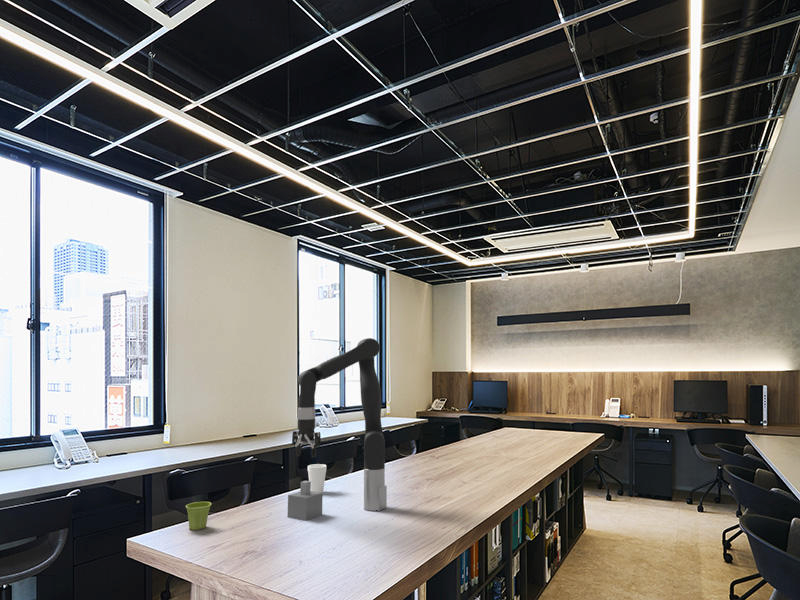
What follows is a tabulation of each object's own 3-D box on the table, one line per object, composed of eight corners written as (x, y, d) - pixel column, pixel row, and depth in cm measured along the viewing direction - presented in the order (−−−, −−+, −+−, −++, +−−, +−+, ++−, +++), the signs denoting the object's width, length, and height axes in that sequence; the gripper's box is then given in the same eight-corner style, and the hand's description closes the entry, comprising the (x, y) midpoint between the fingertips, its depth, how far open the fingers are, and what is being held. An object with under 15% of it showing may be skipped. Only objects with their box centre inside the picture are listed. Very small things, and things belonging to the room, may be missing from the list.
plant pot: (206, 531, 193) (207, 507, 195) (181, 532, 193) (182, 508, 194) (213, 524, 203) (214, 501, 204) (189, 524, 202) (190, 502, 203)
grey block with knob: (322, 514, 215) (322, 480, 217) (305, 520, 206) (306, 485, 208) (304, 511, 220) (304, 478, 222) (287, 516, 212) (288, 482, 214)
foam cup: (322, 495, 248) (322, 467, 250) (304, 494, 250) (304, 467, 252) (328, 490, 258) (328, 464, 260) (311, 490, 259) (311, 463, 261)
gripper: (324, 417, 218) (324, 456, 216) (300, 416, 226) (299, 454, 224) (313, 419, 212) (312, 459, 210) (288, 418, 219) (287, 456, 217)
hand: (306, 456), depth 217 cm, fingers open, 8 cm apart
